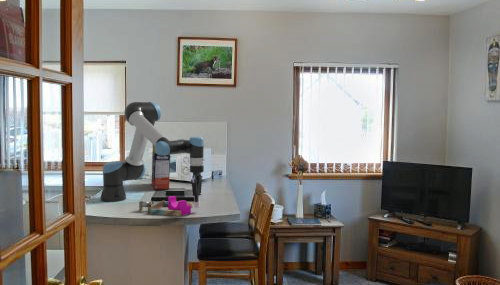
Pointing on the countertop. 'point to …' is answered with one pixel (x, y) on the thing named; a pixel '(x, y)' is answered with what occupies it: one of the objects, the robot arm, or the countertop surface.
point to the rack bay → (156, 210)
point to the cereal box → (160, 171)
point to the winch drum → (145, 205)
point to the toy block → (178, 205)
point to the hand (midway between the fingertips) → (197, 207)
